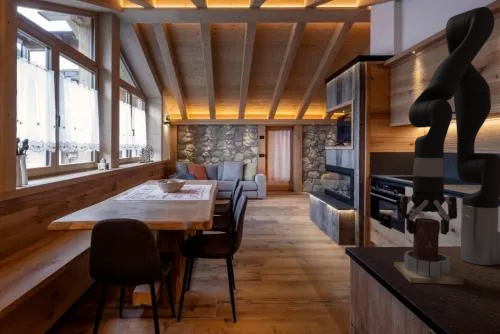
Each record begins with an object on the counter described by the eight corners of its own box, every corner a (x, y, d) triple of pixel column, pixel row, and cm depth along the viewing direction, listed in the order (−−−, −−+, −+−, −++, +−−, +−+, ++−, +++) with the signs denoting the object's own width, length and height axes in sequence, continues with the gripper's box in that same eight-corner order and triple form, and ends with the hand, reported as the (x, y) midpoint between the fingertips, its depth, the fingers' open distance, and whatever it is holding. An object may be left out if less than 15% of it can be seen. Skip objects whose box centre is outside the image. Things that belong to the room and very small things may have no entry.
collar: (438, 264, 98) (438, 250, 98) (457, 278, 88) (457, 262, 88) (399, 263, 100) (399, 249, 99) (413, 276, 89) (413, 261, 89)
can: (442, 274, 90) (443, 222, 90) (416, 273, 91) (417, 221, 91) (434, 267, 96) (435, 218, 95) (410, 265, 97) (411, 217, 97)
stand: (440, 267, 100) (440, 263, 99) (463, 284, 87) (463, 279, 87) (394, 265, 101) (394, 261, 101) (410, 282, 88) (410, 277, 88)
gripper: (449, 174, 96) (447, 231, 96) (396, 173, 97) (395, 230, 98) (463, 175, 88) (461, 237, 89) (406, 175, 90) (404, 236, 90)
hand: (427, 233), depth 93 cm, fingers open, 8 cm apart
